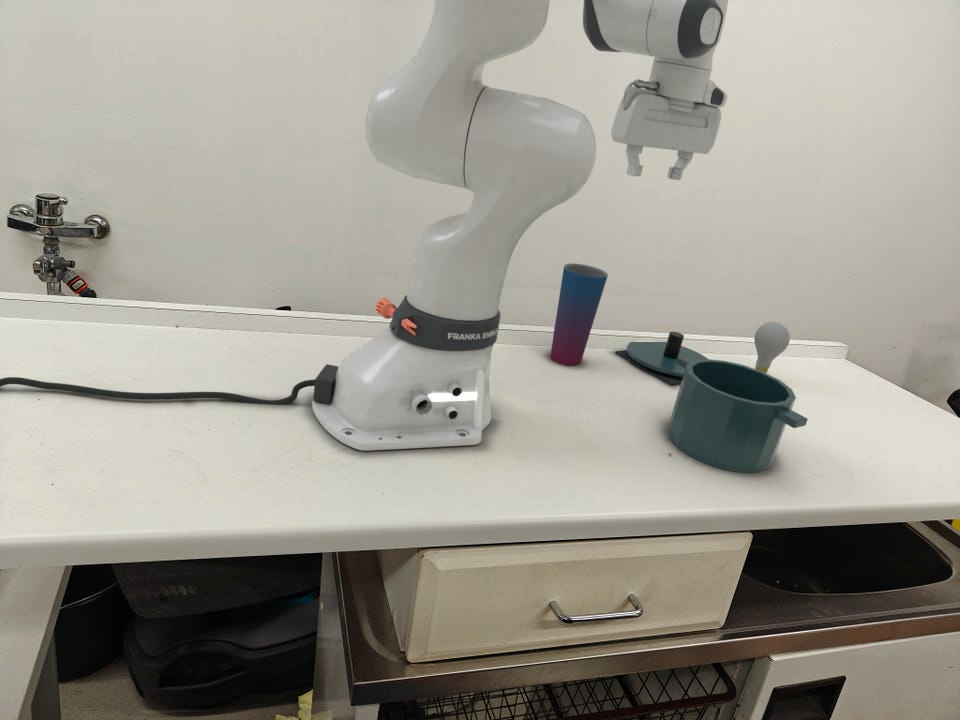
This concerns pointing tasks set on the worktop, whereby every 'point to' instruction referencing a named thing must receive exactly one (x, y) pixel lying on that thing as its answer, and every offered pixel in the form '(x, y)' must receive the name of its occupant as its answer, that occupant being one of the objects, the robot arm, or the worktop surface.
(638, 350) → the lid
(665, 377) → the plate
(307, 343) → the worktop surface
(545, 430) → the worktop surface
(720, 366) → the pot
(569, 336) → the cup
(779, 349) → the light bulb
